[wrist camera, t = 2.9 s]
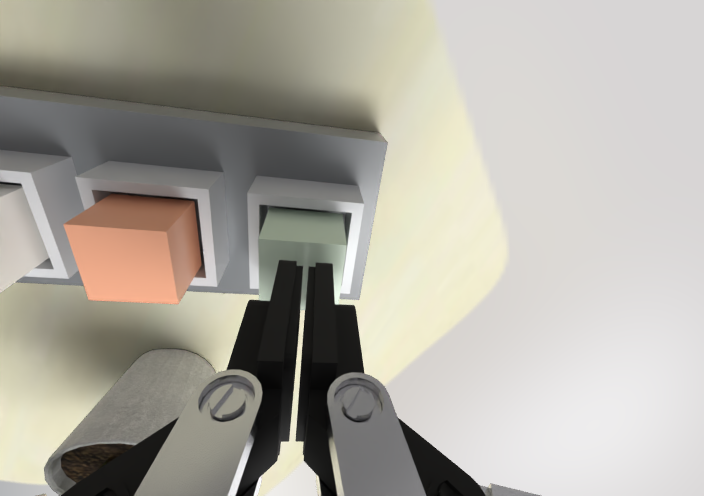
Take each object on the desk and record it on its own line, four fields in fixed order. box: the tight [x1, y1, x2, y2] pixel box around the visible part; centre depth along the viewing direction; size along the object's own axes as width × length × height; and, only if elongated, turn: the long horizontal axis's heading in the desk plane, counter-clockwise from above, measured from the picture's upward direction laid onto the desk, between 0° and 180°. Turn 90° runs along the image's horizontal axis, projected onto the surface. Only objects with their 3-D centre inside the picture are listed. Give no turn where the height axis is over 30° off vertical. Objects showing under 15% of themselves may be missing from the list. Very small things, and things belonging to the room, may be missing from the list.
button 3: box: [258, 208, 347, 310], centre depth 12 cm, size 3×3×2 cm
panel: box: [0, 86, 388, 300], centre depth 14 cm, size 8×17×4 cm, turn 82°
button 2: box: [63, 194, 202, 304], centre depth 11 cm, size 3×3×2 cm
